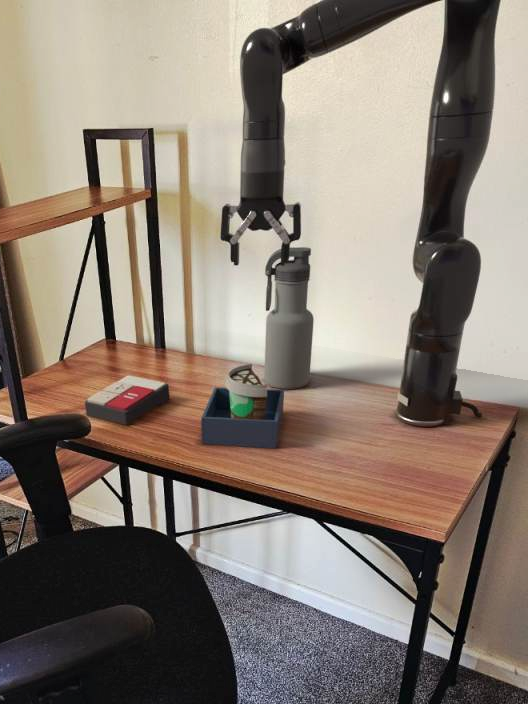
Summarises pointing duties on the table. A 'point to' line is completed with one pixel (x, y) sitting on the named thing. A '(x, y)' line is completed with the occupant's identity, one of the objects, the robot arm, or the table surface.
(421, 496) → the table surface
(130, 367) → the table surface
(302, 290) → the water bottle
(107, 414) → the calculator
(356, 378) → the table surface
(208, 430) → the tote
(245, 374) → the food container
